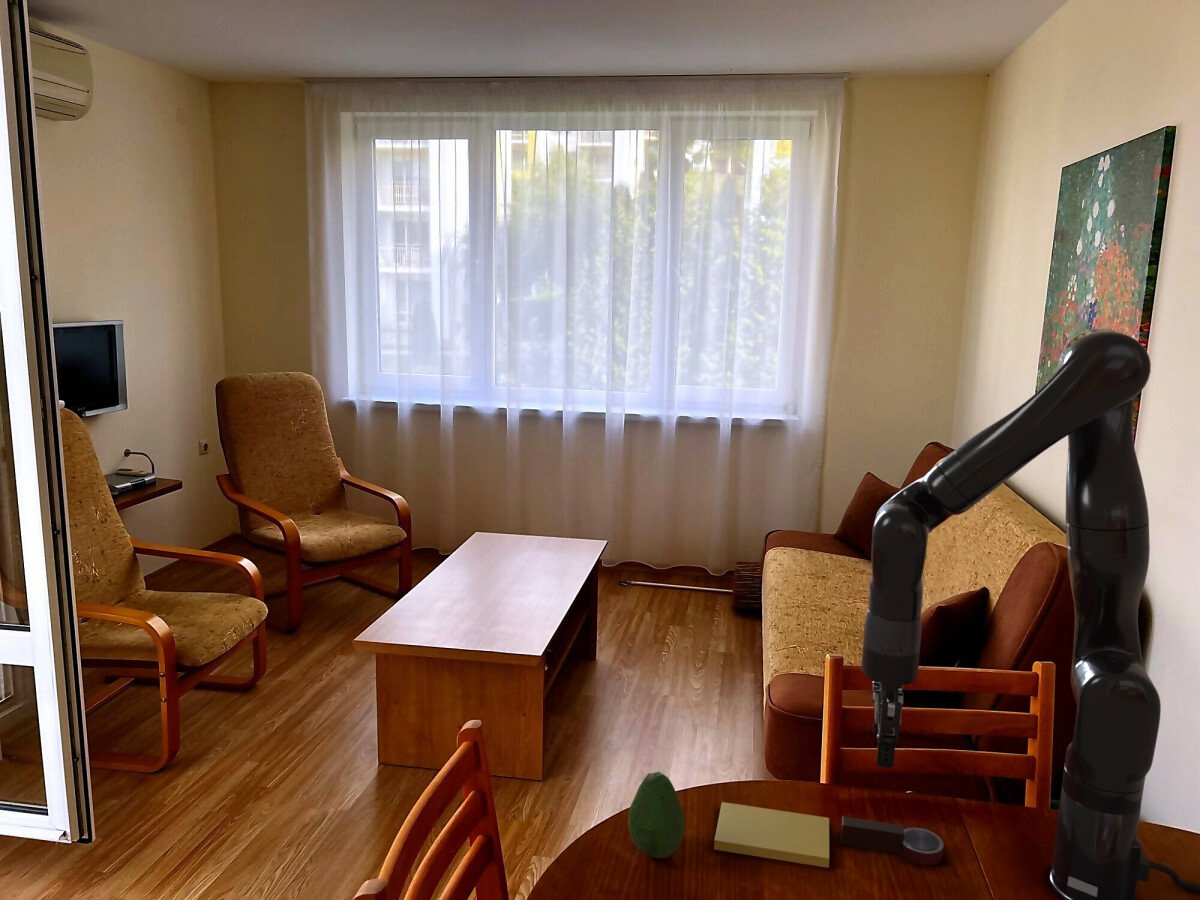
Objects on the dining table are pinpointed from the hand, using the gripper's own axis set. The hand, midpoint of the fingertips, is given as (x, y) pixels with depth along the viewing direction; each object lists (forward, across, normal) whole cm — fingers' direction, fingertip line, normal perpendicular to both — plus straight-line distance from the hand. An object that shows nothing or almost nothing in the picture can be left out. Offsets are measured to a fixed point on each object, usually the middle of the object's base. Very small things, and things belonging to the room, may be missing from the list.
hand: (882, 750), depth 129 cm
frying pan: (+15, 0, -2) cm, 15 cm away
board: (+15, -2, +14) cm, 21 cm away
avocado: (+15, -10, +30) cm, 35 cm away
